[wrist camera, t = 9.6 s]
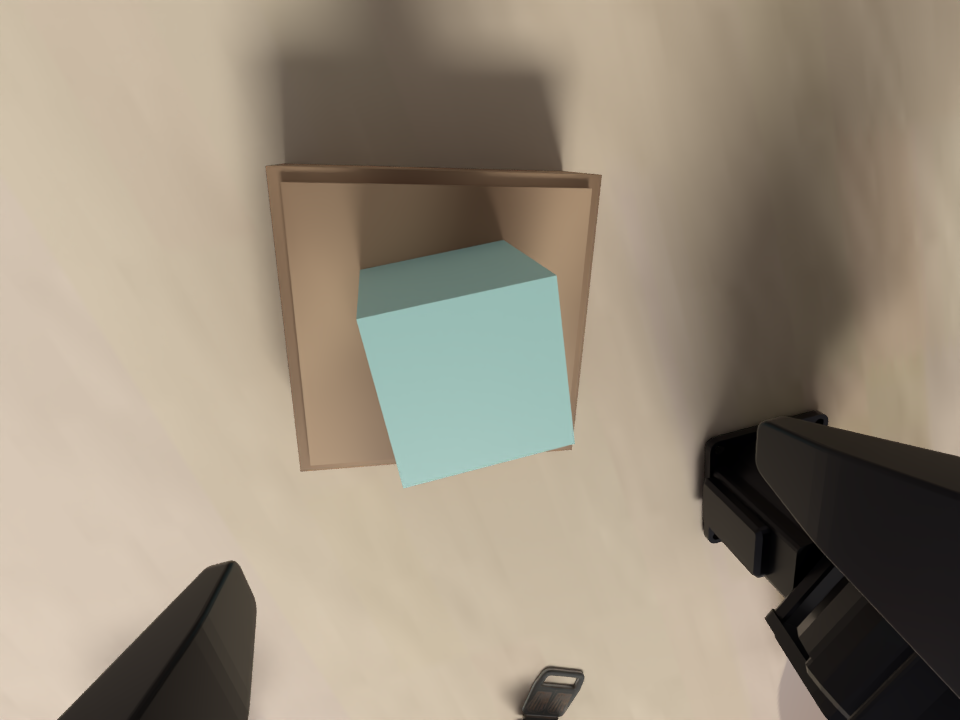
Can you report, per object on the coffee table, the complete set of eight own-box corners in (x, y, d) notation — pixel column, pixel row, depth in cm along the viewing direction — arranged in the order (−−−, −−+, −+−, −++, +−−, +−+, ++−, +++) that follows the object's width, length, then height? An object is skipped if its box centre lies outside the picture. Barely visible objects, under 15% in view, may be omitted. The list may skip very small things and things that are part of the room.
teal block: (503, 240, 16) (556, 275, 12) (522, 368, 18) (574, 443, 13) (359, 269, 16) (356, 319, 11) (394, 399, 17) (403, 488, 13)
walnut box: (559, 171, 20) (605, 175, 16) (540, 404, 24) (574, 453, 20) (286, 163, 18) (263, 166, 14) (312, 418, 22) (299, 476, 18)
